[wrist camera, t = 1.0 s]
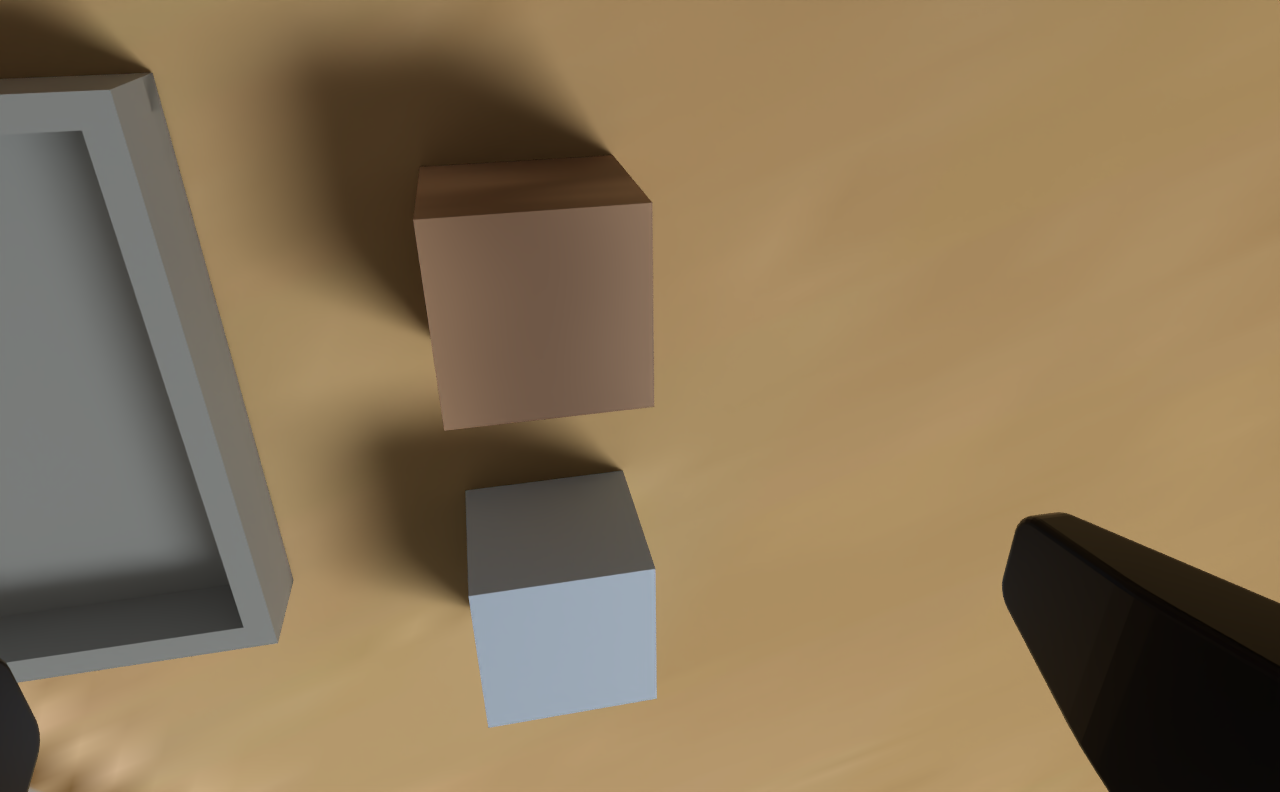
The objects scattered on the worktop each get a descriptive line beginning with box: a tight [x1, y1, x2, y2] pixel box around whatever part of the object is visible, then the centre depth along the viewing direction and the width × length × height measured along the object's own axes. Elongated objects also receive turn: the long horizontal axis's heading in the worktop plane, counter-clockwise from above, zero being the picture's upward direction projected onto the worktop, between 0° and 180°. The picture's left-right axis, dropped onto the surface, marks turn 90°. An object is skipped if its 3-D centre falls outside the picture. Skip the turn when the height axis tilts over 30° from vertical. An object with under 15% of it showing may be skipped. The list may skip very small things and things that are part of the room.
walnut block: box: [413, 155, 654, 431], centre depth 17 cm, size 4×4×4 cm
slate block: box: [465, 471, 657, 728], centre depth 20 cm, size 4×4×4 cm
